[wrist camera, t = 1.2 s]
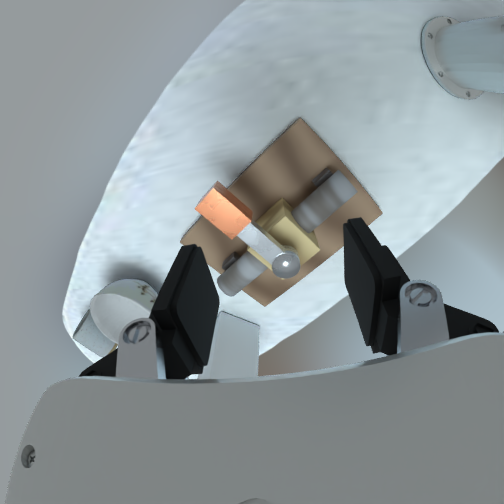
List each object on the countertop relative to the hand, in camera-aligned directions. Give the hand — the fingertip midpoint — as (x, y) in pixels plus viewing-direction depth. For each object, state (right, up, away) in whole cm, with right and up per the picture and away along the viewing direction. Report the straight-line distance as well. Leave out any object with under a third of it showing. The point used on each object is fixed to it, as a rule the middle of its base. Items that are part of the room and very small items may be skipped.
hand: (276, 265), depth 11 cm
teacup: (-19, -7, +33) cm, 38 cm away
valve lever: (-1, +3, +16) cm, 16 cm away
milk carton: (-4, -13, +36) cm, 38 cm away
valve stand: (+3, +5, +25) cm, 25 cm away
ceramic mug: (-30, -12, +37) cm, 49 cm away
